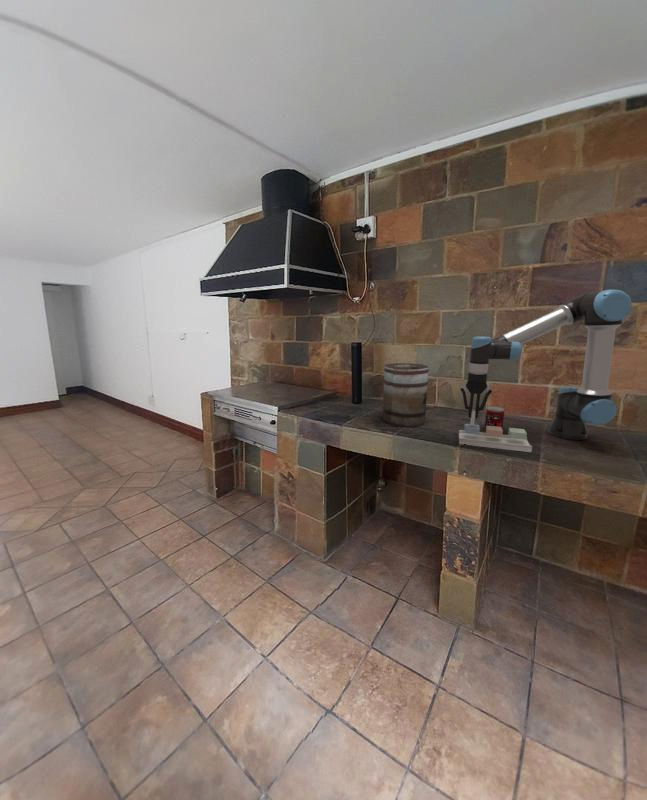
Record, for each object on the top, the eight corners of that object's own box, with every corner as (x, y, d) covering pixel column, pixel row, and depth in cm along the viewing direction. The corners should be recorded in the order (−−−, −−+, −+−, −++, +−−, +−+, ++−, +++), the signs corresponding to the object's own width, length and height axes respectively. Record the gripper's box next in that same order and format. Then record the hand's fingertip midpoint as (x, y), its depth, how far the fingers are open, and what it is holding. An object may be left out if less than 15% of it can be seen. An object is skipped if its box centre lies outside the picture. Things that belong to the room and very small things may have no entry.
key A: (523, 435, 148) (524, 429, 147) (525, 440, 142) (526, 433, 141) (507, 434, 150) (508, 427, 149) (509, 438, 144) (510, 431, 144)
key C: (478, 431, 154) (479, 424, 153) (479, 435, 148) (479, 428, 148) (464, 429, 156) (464, 423, 155) (464, 434, 151) (465, 427, 150)
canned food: (480, 428, 170) (483, 407, 167) (493, 426, 172) (495, 405, 170) (493, 433, 163) (495, 411, 160) (505, 431, 165) (508, 409, 163)
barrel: (432, 421, 182) (437, 366, 175) (409, 430, 167) (412, 370, 160) (398, 412, 198) (400, 362, 191) (373, 420, 184) (375, 366, 176)
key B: (500, 433, 151) (501, 427, 150) (502, 438, 145) (502, 431, 145) (485, 432, 153) (486, 425, 152) (486, 436, 147) (487, 429, 147)
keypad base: (525, 442, 151) (526, 437, 150) (531, 452, 140) (532, 446, 139) (458, 435, 160) (459, 430, 160) (459, 443, 150) (459, 438, 149)
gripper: (493, 372, 147) (487, 423, 152) (461, 370, 151) (456, 420, 157) (495, 375, 140) (488, 428, 146) (461, 373, 144) (456, 425, 150)
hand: (472, 424), depth 151 cm, fingers closed
